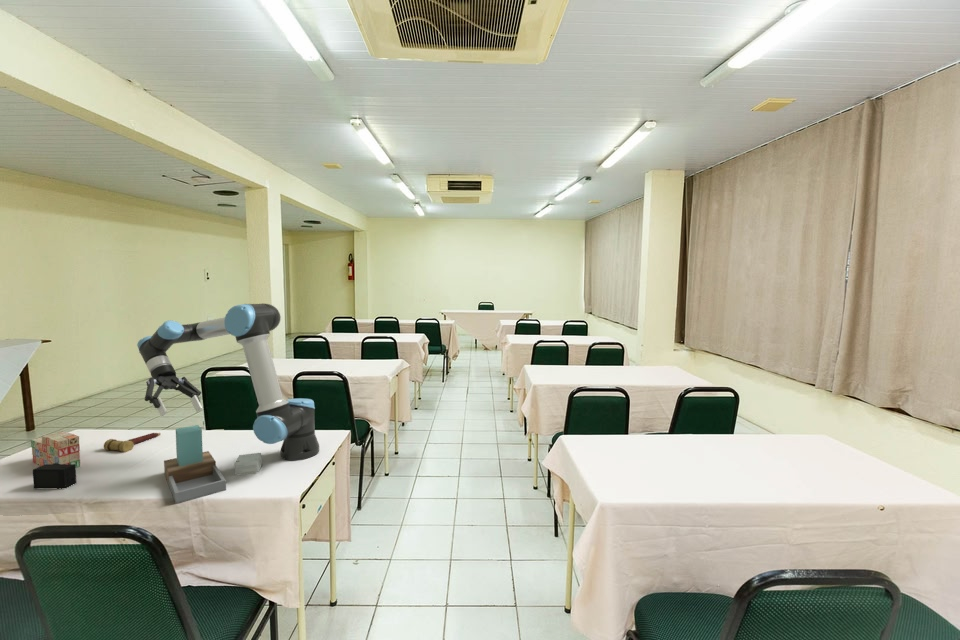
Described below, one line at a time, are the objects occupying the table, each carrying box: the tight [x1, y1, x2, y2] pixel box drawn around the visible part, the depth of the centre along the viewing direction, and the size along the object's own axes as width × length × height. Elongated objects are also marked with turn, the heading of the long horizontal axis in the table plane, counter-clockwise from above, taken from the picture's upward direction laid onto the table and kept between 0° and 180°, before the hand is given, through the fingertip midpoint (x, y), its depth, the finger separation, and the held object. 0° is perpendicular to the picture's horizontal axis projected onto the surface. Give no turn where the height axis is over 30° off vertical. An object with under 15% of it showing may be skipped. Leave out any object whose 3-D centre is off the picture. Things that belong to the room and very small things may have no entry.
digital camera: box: [32, 463, 77, 490], centre depth 143 cm, size 10×5×7 cm, turn 92°
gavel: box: [103, 432, 161, 453], centre depth 182 cm, size 21×5×10 cm
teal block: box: [175, 424, 204, 467], centre depth 152 cm, size 7×7×12 cm
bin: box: [168, 464, 227, 505], centre depth 142 cm, size 16×14×4 cm
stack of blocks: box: [30, 430, 81, 469], centre depth 159 cm, size 21×6×12 cm, turn 66°
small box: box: [234, 452, 263, 476], centre depth 157 cm, size 8×8×5 cm
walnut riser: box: [163, 450, 217, 486], centre depth 153 cm, size 13×14×5 cm
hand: (182, 412), depth 159 cm, fingers open, 13 cm apart
